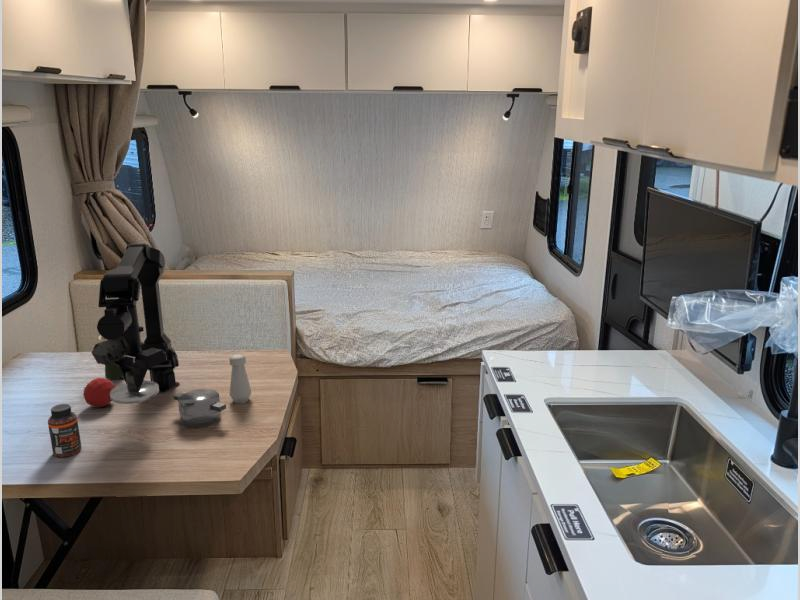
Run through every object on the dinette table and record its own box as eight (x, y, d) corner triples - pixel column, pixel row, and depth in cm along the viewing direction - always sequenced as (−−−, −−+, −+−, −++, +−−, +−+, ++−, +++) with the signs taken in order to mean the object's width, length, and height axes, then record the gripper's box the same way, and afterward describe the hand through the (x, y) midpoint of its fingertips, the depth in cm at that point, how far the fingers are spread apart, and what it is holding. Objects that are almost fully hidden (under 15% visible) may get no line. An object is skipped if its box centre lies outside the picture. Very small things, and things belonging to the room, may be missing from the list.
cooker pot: (163, 420, 158) (160, 399, 157) (192, 404, 167) (190, 384, 165) (210, 434, 152) (208, 411, 150) (238, 416, 160) (236, 395, 158)
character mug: (139, 376, 186) (133, 335, 182) (118, 385, 180) (112, 342, 176) (116, 369, 191) (110, 329, 187) (95, 377, 185) (88, 336, 181)
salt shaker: (246, 405, 166) (242, 360, 162) (226, 404, 167) (222, 359, 164) (255, 396, 172) (251, 352, 168) (236, 394, 173) (232, 351, 169)
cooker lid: (100, 397, 149) (96, 374, 147) (137, 380, 158) (134, 359, 156) (131, 407, 144) (128, 383, 142) (168, 389, 153) (166, 366, 151)
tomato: (108, 379, 163) (91, 367, 166) (86, 403, 160) (70, 391, 163) (126, 392, 169) (110, 381, 173) (105, 416, 166) (89, 404, 170)
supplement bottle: (62, 461, 140) (54, 415, 137) (48, 453, 143) (39, 409, 140) (87, 449, 145) (80, 405, 142) (72, 442, 148) (65, 399, 145)
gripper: (68, 329, 143) (78, 391, 148) (124, 342, 135) (133, 407, 139) (109, 315, 153) (118, 374, 157) (164, 327, 144) (171, 388, 149)
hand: (134, 385), depth 150 cm, fingers closed on cooker lid, 3 cm apart
